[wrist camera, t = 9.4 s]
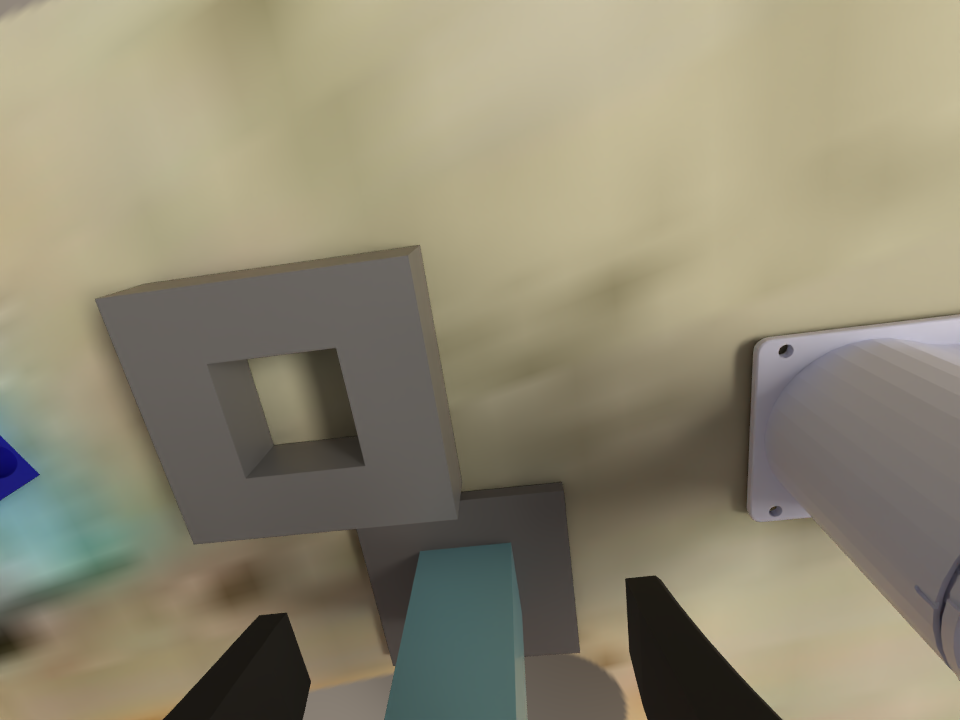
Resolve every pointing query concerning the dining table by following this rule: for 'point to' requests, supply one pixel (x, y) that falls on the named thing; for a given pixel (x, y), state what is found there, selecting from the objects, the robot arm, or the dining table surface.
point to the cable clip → (13, 470)
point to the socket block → (238, 412)
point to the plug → (462, 639)
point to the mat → (484, 521)
